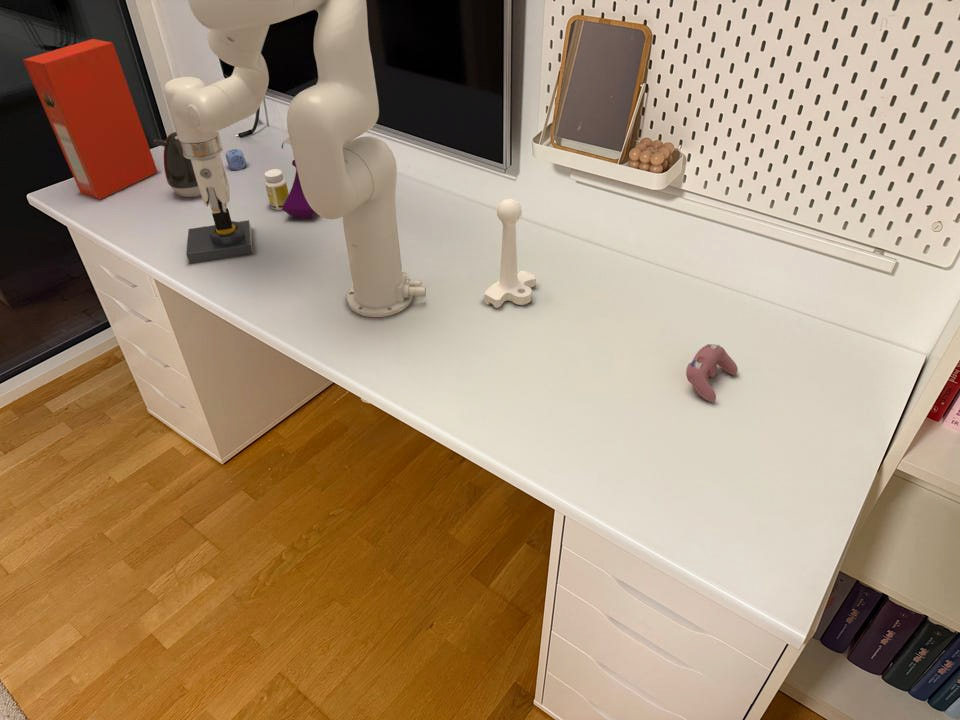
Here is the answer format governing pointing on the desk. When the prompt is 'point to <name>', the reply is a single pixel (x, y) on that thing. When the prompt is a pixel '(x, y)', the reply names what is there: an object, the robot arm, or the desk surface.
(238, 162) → the decorative dice
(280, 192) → the supplement bottle
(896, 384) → the desk surface
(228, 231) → the button
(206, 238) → the console
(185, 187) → the pump dispenser
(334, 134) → the robot arm
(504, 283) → the joystick
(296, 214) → the perfume bottle
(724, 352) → the video game controller
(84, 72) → the file binder
